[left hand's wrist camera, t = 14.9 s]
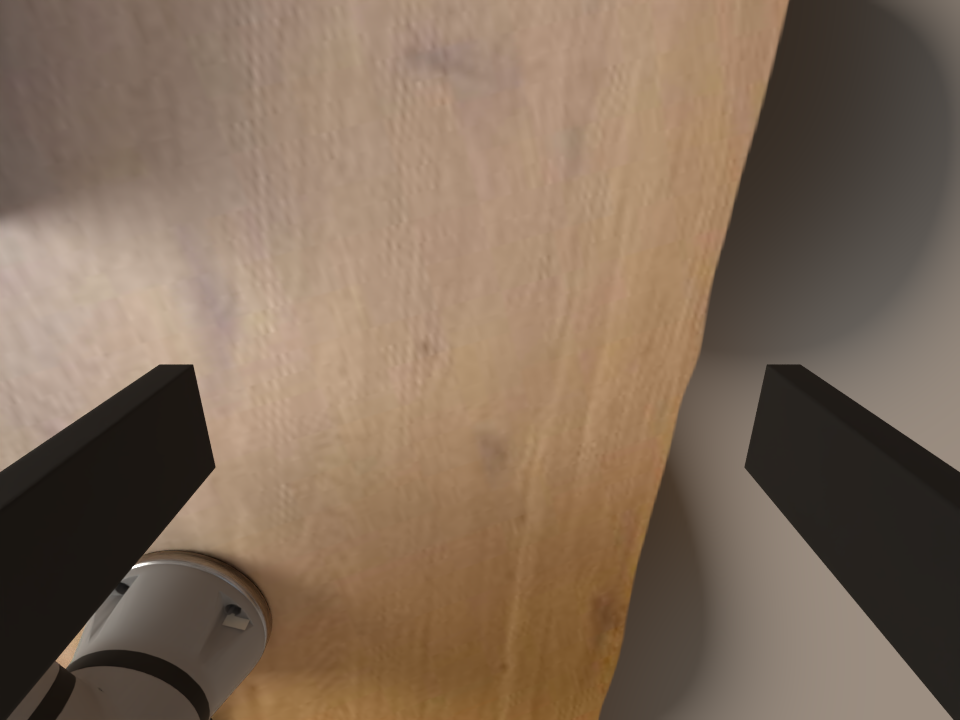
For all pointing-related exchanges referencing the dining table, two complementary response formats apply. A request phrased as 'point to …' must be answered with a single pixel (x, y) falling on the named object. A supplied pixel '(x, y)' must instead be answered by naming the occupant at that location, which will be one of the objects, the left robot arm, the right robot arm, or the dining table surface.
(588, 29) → the dining table surface
